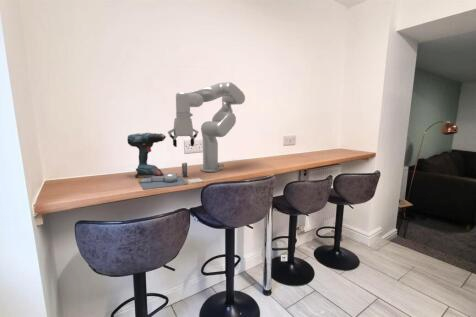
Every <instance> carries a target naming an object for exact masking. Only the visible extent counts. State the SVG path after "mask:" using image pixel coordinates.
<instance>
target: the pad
mask: <svg viewBox="0 0 476 317" xmlns="http://www.w3.org/2000/svg"><path fill="white" fill-rule="evenodd" d="M186 182H189V183H190V184H197V183H204V180H203V179H201V178H199V177H198V178H189V179H186Z"/></svg>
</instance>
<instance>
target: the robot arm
mask: <svg viewBox="0 0 476 317" xmlns="http://www.w3.org/2000/svg"><path fill="white" fill-rule="evenodd" d="M219 98H220V99H221V107H220V109H219V110H218V111H217V112H216V113H215V114H214V115H213V117H212V119H211V121H204V122H203V123H202V124H201V127H200V132H201V136H202V167H201V168H200V171H201V172H204V173H217V172H219V171H220V172H221V168H223V167H225V166H226V165H225V163H219V160H218V159H219V153H218V151H219V142H218V140H217V138H224V137H225V136H226V135H227V134H228V133H229V132H230V131H231V130H232V129H233V128H234V126H235V124H236V122H237V116H236V115H235V114H234V112H233V108H232V105H242V104H244V103H245V101H246V96H245V94H244V92H243V91H242V90H241V89H240V88H239V87H238V86H237V85H236V84H234V83H232V82H229V81H228V82H218V83H216V84H213V85H210V86H206V87H203V88H200V89H197V90H193V91H188V92H177V93H176V94H175V111H176V112H175V118H174V120H173V121H174V122H173V128H172V129H171V130H168V131H167V134H168V136H169V137H170V138H171V139H172V145H173V147H175V148H177V145H178V142H177V138H178V137H190V141H189V142H190V143H189V144H190V146H191V147H194V146H195V140H196V138H197V136H198V134H199V131H198V130H197V129H194V127H193V121H192V118H191V117H193V116H194V115H193V113H191V108H200V107H201V106H202V105H203V104H204V103H208V102H212V101H214V100H218V99H219ZM172 133H173V135H172Z"/></svg>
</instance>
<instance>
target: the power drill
mask: <svg viewBox="0 0 476 317" xmlns="http://www.w3.org/2000/svg"><path fill="white" fill-rule="evenodd" d="M166 138H167V136H166V134H164V133H153V132H144V133H140V132H139V133H133V134H128V135H127V138H126V139H127V144H128V145H129V146H131V147H132V148H133V147H134V148H137V149H138V166H137V168H135V171H136V174H135V179H136V178H138V179H139V178H140V177H141V176H163V174H164V173H163V171H162V170H161V169H160V168H158V166H156V165H154V164H148V155H149V153H151V152H152V147H153V146H154V144H155V143H157V144H158V143H160V142H163V141H165V139H166Z"/></svg>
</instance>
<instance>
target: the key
mask: <svg viewBox="0 0 476 317" xmlns="http://www.w3.org/2000/svg"><path fill="white" fill-rule="evenodd" d="M181 172H182V173H181V174H182V177H181V178H188V162H182V163H181Z"/></svg>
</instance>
